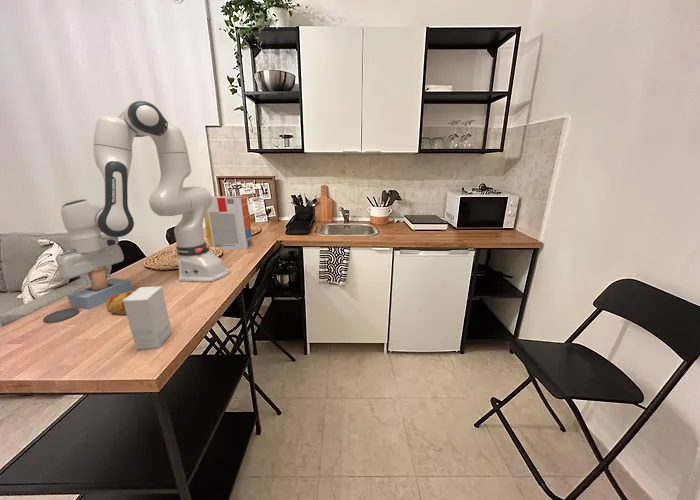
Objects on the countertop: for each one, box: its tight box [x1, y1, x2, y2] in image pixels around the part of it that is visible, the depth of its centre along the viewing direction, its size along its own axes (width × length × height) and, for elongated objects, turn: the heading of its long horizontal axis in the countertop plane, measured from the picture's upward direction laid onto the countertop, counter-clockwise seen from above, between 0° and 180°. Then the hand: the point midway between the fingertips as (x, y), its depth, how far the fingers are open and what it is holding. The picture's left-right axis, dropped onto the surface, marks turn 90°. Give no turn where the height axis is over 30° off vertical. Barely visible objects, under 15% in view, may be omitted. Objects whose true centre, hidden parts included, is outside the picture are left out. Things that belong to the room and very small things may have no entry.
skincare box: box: [123, 285, 173, 350], centre depth 83 cm, size 8×7×16 cm
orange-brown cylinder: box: [87, 266, 108, 292], centre depth 111 cm, size 5×5×12 cm
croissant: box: [105, 291, 134, 316], centre depth 104 cm, size 21×10×8 cm, turn 70°
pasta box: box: [203, 195, 254, 251], centre depth 172 cm, size 23×8×30 cm, turn 85°
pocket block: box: [66, 277, 134, 310], centre depth 113 cm, size 10×16×4 cm, turn 162°
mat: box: [42, 307, 80, 324], centre depth 101 cm, size 9×9×1 cm
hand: (99, 280), depth 111 cm, fingers closed on orange-brown cylinder, 5 cm apart
